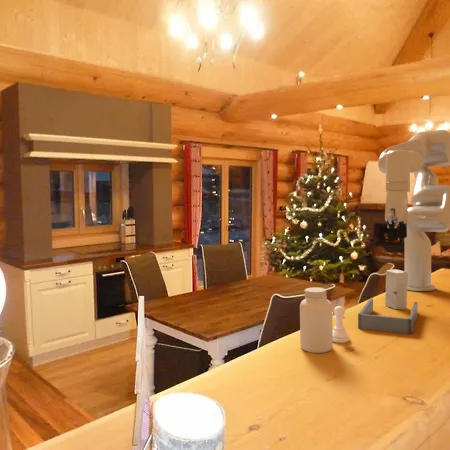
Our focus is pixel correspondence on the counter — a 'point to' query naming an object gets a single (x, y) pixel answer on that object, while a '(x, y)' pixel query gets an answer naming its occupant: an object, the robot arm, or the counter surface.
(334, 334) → the chess pawn
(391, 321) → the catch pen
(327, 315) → the pill bottle
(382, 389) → the counter surface
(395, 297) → the skincare box
